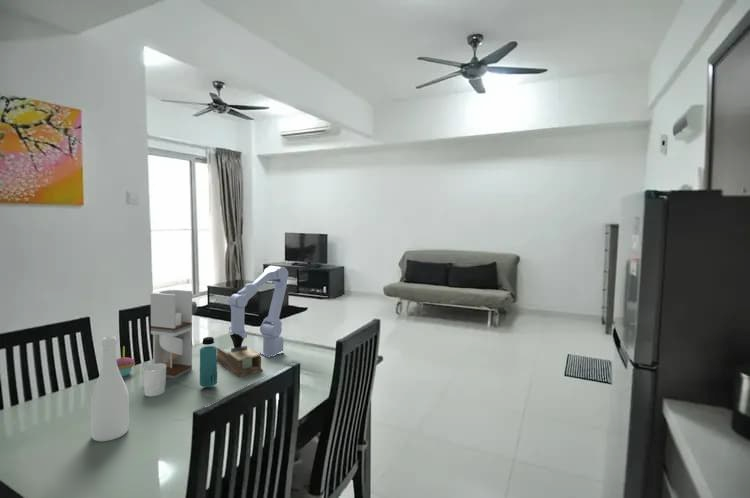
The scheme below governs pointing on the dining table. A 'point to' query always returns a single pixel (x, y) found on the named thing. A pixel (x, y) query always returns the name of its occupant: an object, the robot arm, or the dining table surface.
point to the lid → (243, 353)
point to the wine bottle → (109, 398)
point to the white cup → (154, 379)
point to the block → (246, 363)
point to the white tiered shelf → (172, 330)
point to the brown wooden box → (237, 364)
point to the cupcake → (125, 364)
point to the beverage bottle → (208, 363)
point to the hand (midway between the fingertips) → (237, 349)
